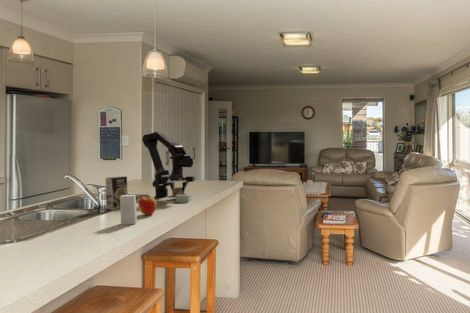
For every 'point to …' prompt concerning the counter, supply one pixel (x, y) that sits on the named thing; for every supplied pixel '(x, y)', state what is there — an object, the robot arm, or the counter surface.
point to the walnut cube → (177, 191)
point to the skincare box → (128, 209)
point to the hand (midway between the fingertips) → (178, 194)
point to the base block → (183, 198)
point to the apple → (147, 205)
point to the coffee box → (115, 191)
